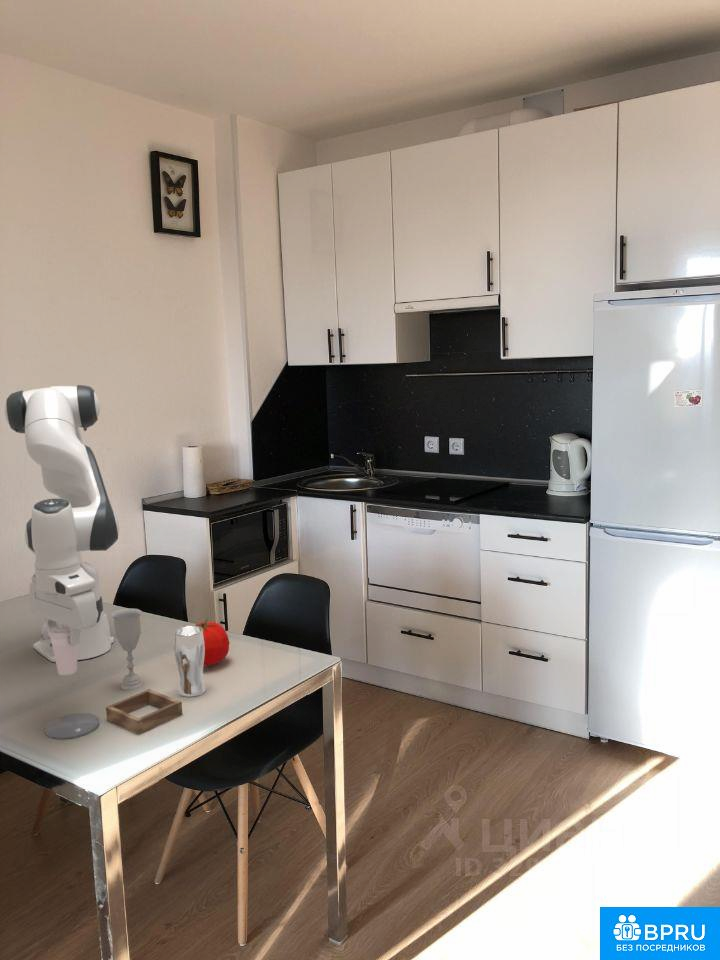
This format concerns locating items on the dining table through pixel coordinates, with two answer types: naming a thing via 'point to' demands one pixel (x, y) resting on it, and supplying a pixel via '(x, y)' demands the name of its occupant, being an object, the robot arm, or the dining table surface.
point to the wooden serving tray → (140, 725)
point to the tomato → (214, 642)
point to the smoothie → (63, 649)
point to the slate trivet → (72, 725)
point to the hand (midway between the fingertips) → (64, 641)
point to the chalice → (128, 641)
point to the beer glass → (190, 659)
